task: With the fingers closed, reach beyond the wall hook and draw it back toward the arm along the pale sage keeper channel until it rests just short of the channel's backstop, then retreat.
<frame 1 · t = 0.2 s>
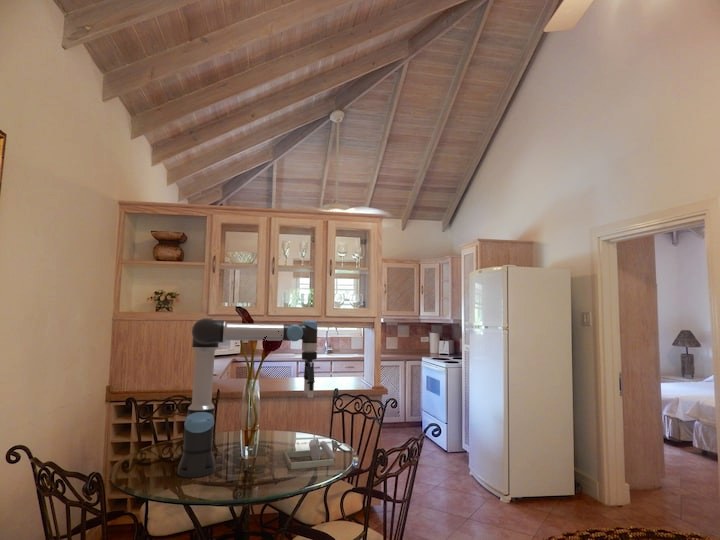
hand: (308, 395, 216), 28 cm above the table, fingers open, 13 cm apart
wall hook: (322, 460, 204), on the table
keeper channel: (307, 461, 201), on the table
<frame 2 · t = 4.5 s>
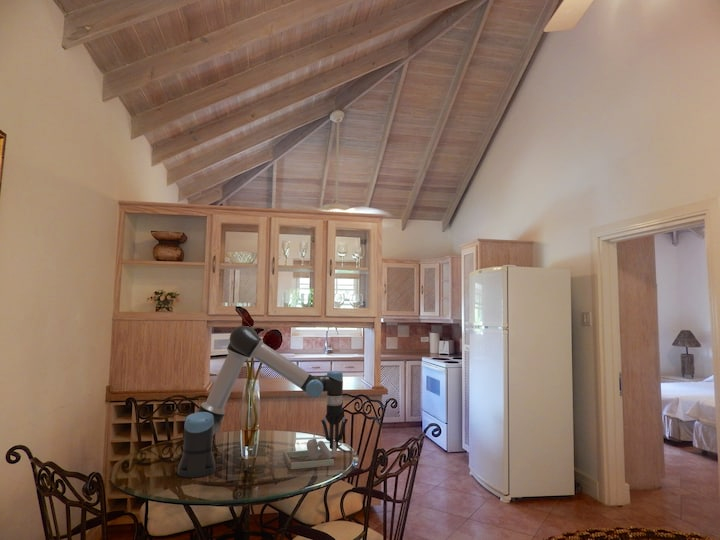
hand: (333, 455, 206), 1 cm above the table, fingers closed
wall hook: (320, 460, 204), on the table
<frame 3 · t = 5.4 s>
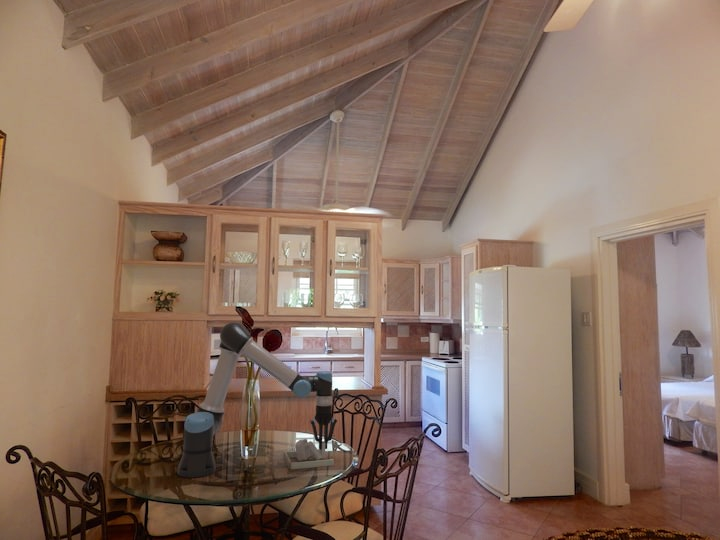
hand: (322, 456, 204), 1 cm above the table, fingers closed
wall hook: (309, 460, 203), on the table, touching gripper
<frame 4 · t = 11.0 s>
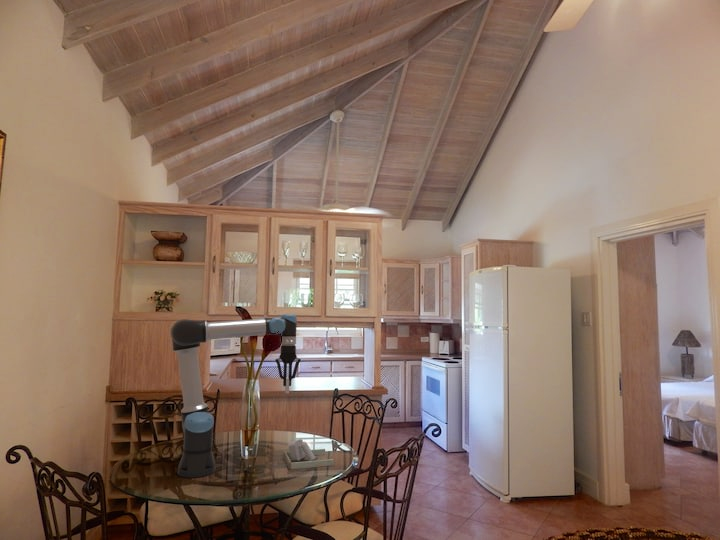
hand: (286, 392, 218), 28 cm above the table, fingers closed
wall hook: (303, 461, 202), on the table
at the end: wall hook inside the target area on the keeper channel (2.1 cm from its centre), point 0.0 cm above the keeper channel's base; wall hook moved 8.9 cm from its start; the gripper is holding nothing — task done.
